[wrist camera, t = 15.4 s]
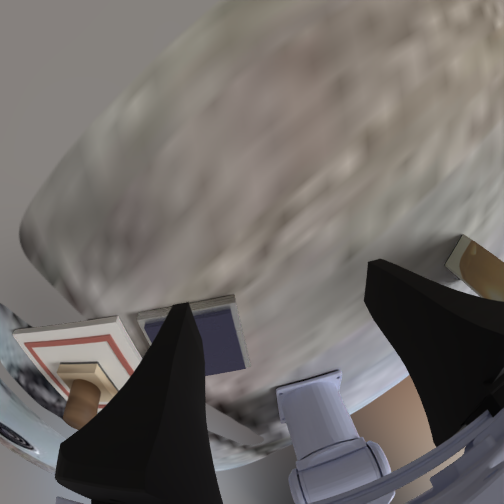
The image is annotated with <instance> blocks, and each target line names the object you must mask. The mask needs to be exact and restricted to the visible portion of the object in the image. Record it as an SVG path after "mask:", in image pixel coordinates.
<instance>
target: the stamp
mask: <svg viewBox="0 0 504 504" xmlns="http://www.w3.org/2000/svg"><path fill="white" fill-rule="evenodd" d="M57 374H58V376H59V377H60V378H61V379H62V380H63V382H64V383H65V384H66V385H67V386H68V388H69V389H70V393H69V396H68V400H67V404H66V407H65V411H64V415H63V420H64V421H65V422H66V423H67V424H68V425H69V426H71V427H73V428H75V429H77V430H80V429H81V428H82V427H83V426H84V425H86V424H87V423H88V422H89V421H90V420H91V419H92V418H93V417H95V416H96V415H97V411H98V406H99V402H109V401H110V400H111V399H112V398H113V397H114V396H115V395H116V394H117V392H118V391H119V390H118V389H117V387H116V386H115V385H114V383H113V382H112V381H111V379H110V378H109V377H108V375H107V374H106V372H105V371H104V370H103V368H102V367H101V365H100V364H99V362H98V361H95V362H60V365H59V367H58V370H57Z"/></svg>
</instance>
